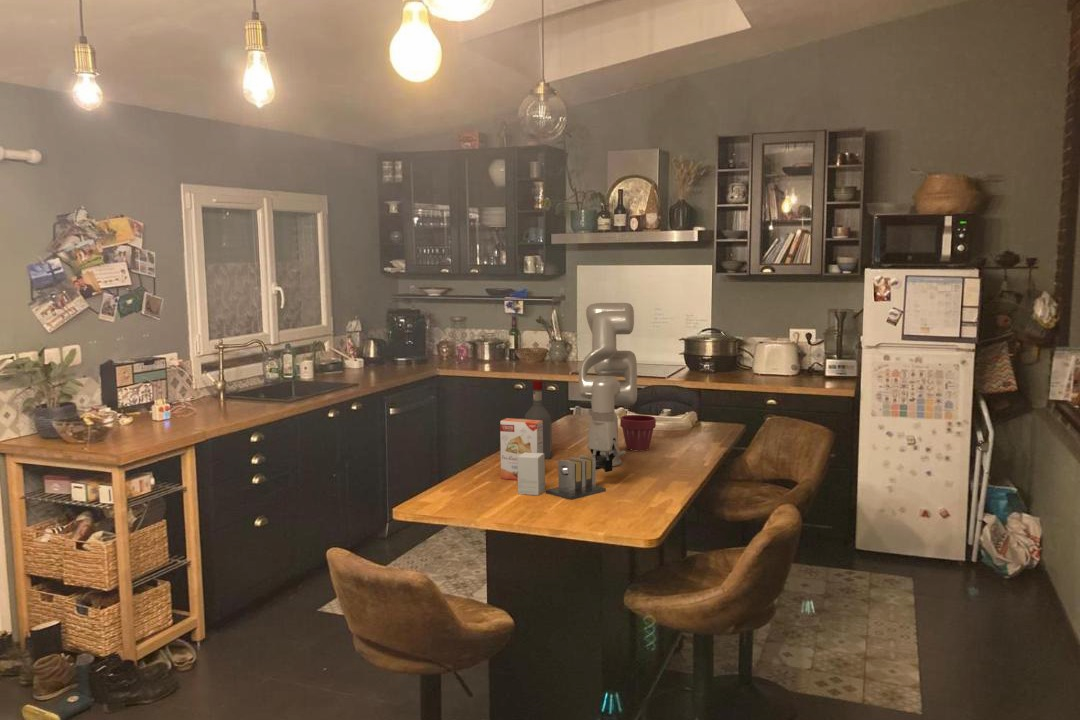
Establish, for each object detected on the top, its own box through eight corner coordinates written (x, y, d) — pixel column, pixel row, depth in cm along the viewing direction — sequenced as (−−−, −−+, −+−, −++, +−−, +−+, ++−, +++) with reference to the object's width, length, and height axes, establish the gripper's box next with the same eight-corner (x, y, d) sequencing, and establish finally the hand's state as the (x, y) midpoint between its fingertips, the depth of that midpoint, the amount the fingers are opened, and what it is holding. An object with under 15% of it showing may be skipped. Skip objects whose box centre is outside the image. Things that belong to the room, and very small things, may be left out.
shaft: (601, 466, 303) (601, 454, 303) (610, 468, 300) (610, 456, 300) (558, 476, 290) (558, 464, 289) (566, 478, 287) (566, 466, 286)
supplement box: (545, 490, 295) (545, 453, 294) (538, 496, 288) (538, 457, 287) (524, 488, 298) (524, 451, 296) (517, 494, 291) (516, 456, 289)
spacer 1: (568, 477, 294) (568, 459, 293) (581, 480, 290) (581, 462, 289) (562, 478, 292) (562, 460, 292) (575, 482, 288) (575, 463, 287)
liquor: (541, 454, 351) (540, 378, 348) (554, 458, 344) (554, 381, 340) (521, 457, 346) (521, 380, 343) (534, 461, 339) (533, 383, 335)
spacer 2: (578, 475, 297) (578, 457, 297) (591, 478, 293) (591, 460, 292) (573, 476, 296) (573, 458, 295) (586, 479, 291) (586, 461, 291)
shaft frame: (579, 484, 302) (579, 452, 301) (605, 491, 294) (605, 458, 293) (545, 493, 292) (545, 460, 291) (571, 500, 283) (571, 465, 282)
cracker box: (500, 479, 311) (499, 420, 309) (507, 475, 317) (506, 417, 315) (537, 482, 306) (536, 422, 304) (543, 478, 312) (543, 419, 309)
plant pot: (662, 449, 358) (663, 418, 357) (636, 454, 350) (636, 421, 349) (639, 443, 370) (639, 413, 369) (613, 448, 362) (613, 416, 361)
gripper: (577, 415, 303) (577, 468, 305) (614, 421, 290) (614, 476, 292) (592, 412, 308) (593, 464, 310) (629, 418, 296) (629, 472, 297)
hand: (603, 469), depth 301 cm, fingers closed on shaft, 4 cm apart
